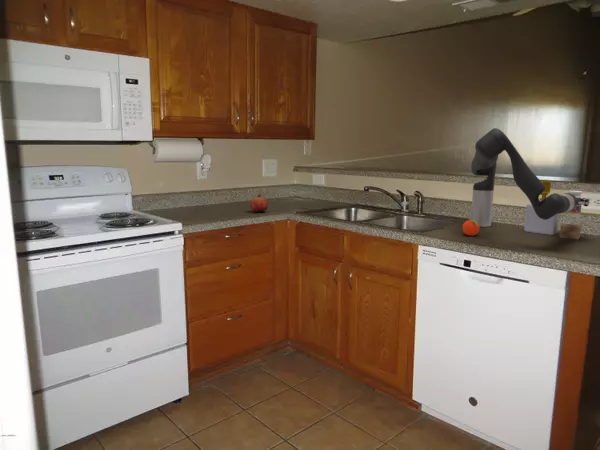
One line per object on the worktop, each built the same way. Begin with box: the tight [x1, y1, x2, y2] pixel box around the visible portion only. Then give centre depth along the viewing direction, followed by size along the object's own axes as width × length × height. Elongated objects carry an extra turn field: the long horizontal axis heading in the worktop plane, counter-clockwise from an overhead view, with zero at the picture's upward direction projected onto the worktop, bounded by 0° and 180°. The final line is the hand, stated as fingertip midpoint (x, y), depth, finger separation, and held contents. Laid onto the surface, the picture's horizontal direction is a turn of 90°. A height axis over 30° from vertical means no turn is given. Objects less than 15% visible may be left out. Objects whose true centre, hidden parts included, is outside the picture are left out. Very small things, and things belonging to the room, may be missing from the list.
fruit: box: [250, 194, 269, 213], centre depth 255 cm, size 11×10×10 cm
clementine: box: [462, 219, 481, 237], centre depth 192 cm, size 8×7×7 cm
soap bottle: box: [524, 179, 560, 236], centre depth 198 cm, size 12×7×23 cm, turn 45°
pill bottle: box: [564, 190, 583, 216], centre depth 188 cm, size 6×6×10 cm
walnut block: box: [559, 223, 582, 240], centre depth 190 cm, size 7×7×5 cm
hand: (575, 199), depth 189 cm, fingers closed on pill bottle, 5 cm apart
